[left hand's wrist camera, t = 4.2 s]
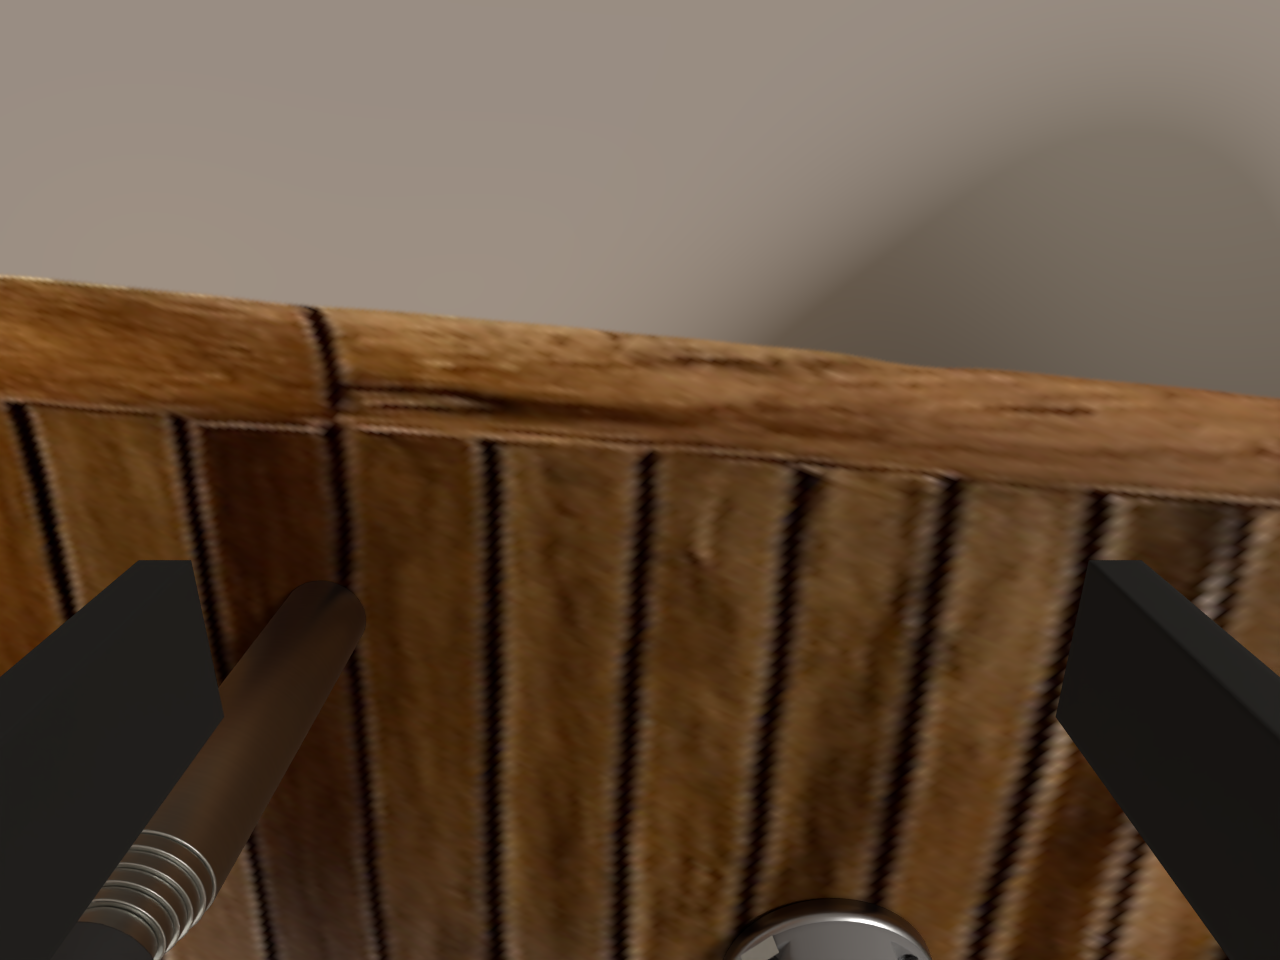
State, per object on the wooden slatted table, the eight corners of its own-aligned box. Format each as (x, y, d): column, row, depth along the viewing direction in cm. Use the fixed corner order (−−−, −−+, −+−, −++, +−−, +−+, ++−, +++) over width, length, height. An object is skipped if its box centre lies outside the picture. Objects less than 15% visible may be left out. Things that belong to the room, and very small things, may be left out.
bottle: (347, 571, 50) (90, 952, 27) (378, 639, 52) (162, 1055, 29) (271, 591, 51) (-46, 982, 27) (305, 658, 53) (33, 1081, 29)
